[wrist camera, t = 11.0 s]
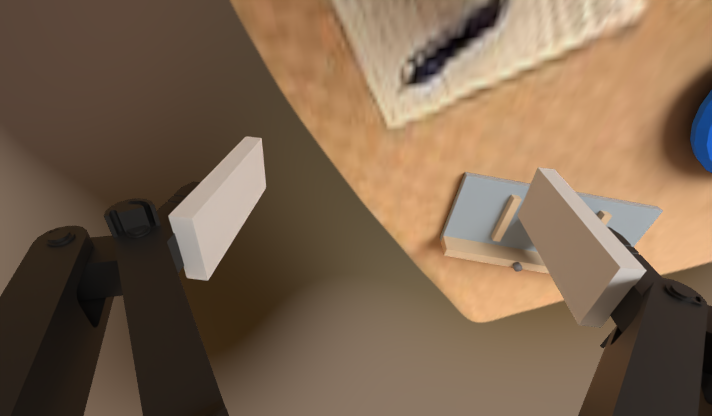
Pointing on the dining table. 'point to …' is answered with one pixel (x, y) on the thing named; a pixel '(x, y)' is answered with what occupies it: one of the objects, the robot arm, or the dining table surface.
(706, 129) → the blue knobbed lid
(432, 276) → the dining table surface
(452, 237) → the board
